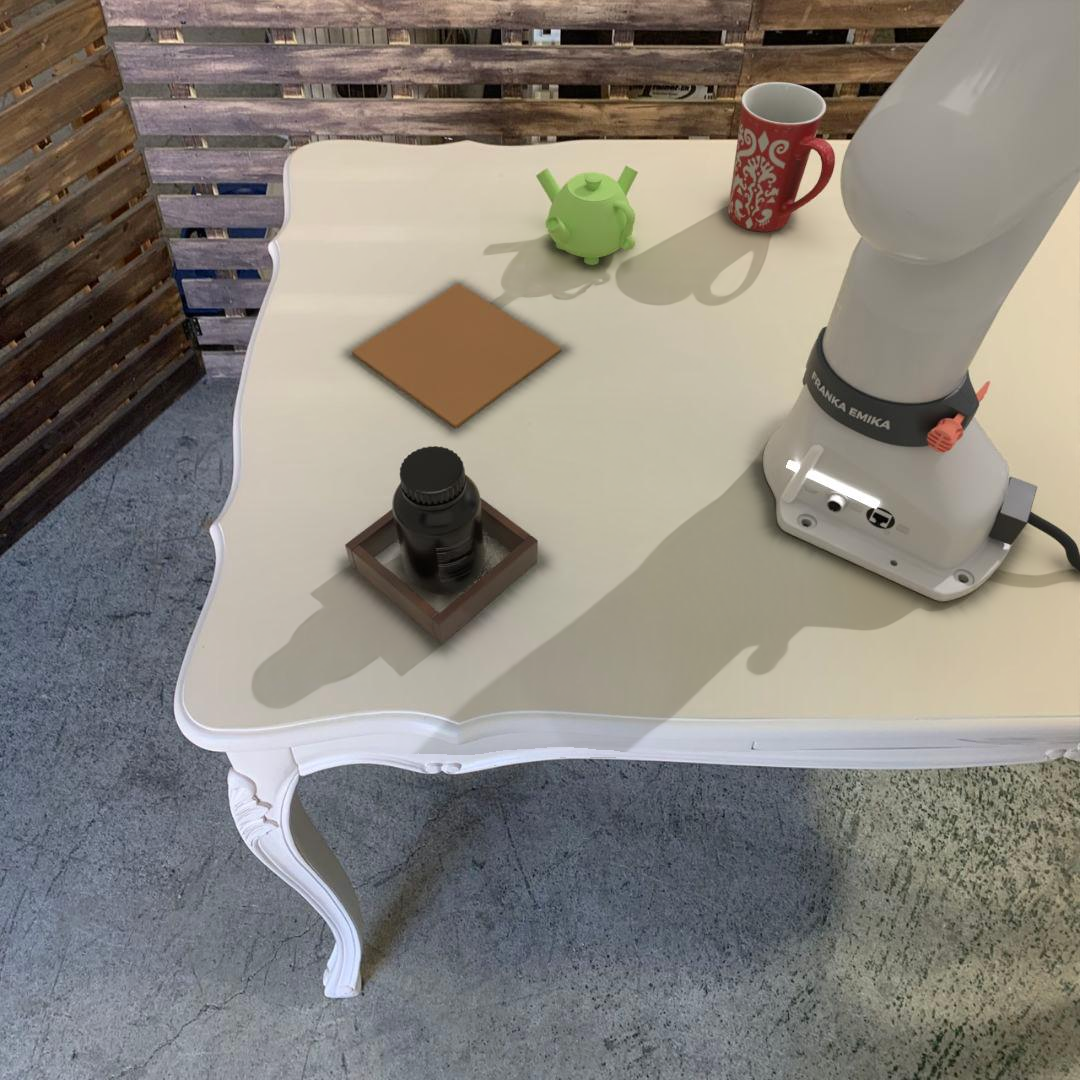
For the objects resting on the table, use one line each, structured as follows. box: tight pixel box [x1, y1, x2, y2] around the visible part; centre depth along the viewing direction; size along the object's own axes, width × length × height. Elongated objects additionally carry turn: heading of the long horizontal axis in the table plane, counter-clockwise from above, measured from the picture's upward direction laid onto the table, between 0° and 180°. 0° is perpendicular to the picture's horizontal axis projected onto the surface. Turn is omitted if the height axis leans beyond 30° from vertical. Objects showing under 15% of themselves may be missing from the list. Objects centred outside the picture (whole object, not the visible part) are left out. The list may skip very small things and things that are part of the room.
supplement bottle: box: [391, 445, 486, 595], centre depth 71 cm, size 7×7×12 cm
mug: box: [727, 81, 836, 232], centre depth 100 cm, size 13×9×14 cm
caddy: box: [344, 497, 539, 645], centre depth 74 cm, size 11×11×3 cm
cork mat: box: [351, 283, 562, 429], centre depth 91 cm, size 15×15×1 cm
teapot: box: [535, 165, 639, 266], centre depth 99 cm, size 11×12×8 cm
